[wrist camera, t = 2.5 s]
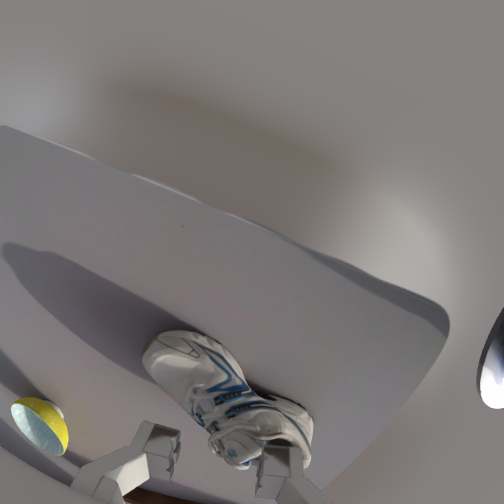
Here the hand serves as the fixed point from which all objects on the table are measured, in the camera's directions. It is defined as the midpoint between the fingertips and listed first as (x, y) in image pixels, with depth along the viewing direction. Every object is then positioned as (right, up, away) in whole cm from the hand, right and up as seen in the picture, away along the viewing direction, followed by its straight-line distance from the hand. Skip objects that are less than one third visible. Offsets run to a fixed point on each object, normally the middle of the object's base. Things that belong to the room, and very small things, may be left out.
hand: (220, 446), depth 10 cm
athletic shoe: (-1, -9, +24) cm, 25 cm away
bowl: (-33, -19, +29) cm, 47 cm away
